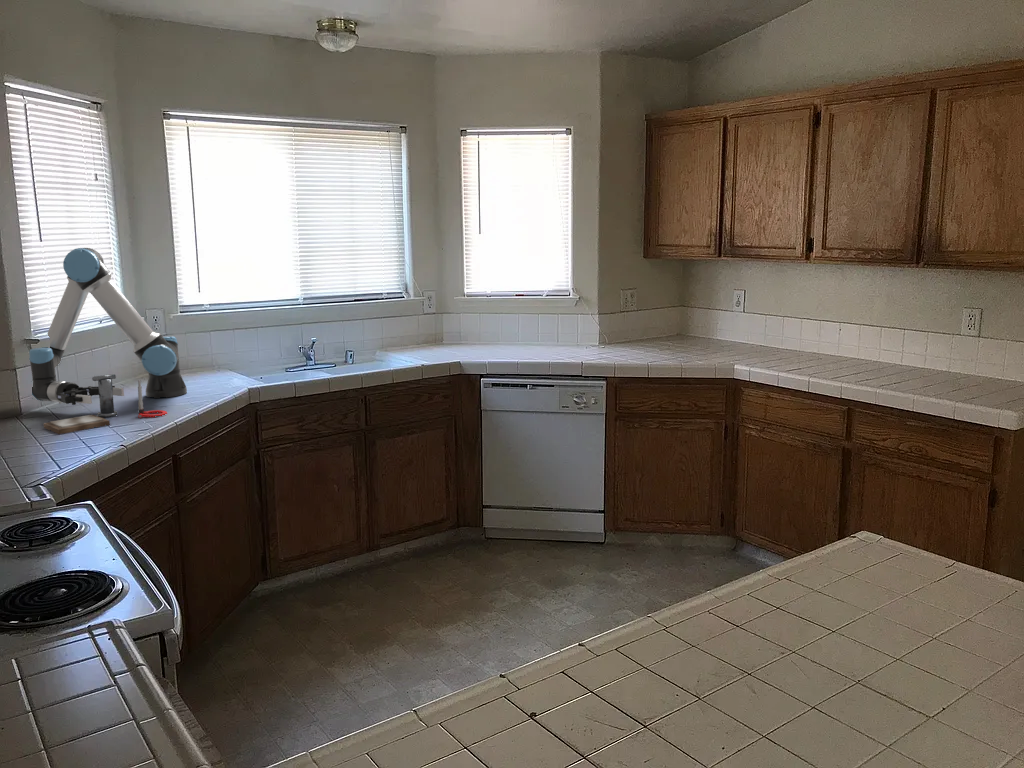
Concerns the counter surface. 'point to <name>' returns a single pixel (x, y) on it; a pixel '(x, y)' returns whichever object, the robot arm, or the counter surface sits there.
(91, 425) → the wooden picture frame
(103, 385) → the metal mooring bollard
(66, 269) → the robot arm
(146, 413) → the tow hook
